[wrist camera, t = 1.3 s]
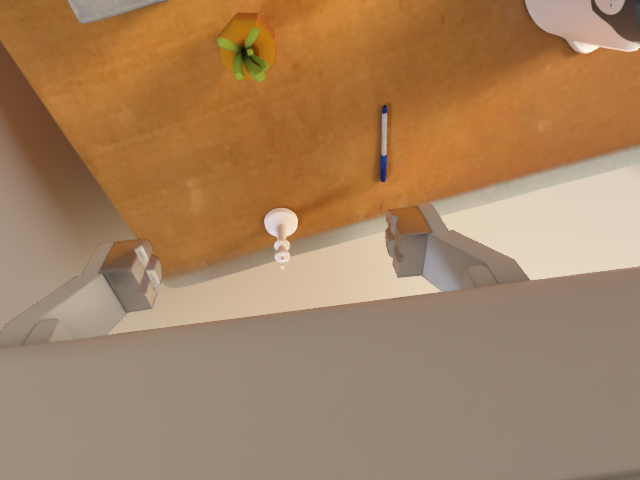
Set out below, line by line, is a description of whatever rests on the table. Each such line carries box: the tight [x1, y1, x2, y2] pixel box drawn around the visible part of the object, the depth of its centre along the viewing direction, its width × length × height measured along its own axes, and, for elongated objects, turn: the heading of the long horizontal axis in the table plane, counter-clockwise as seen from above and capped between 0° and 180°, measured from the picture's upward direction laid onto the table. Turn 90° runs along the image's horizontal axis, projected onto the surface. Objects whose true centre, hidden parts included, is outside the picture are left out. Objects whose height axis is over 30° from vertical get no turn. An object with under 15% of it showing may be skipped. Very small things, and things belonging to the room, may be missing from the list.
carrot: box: [218, 13, 276, 82], centre depth 33 cm, size 5×5×15 cm
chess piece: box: [264, 208, 298, 269], centre depth 50 cm, size 5×5×10 cm
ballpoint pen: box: [381, 105, 387, 182], centre depth 48 cm, size 10×1×1 cm, turn 7°
